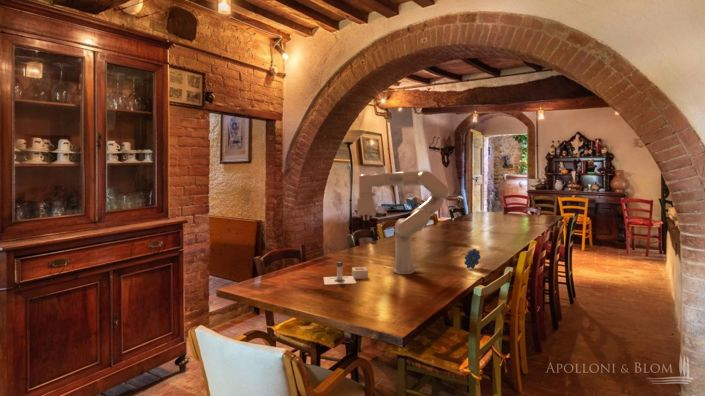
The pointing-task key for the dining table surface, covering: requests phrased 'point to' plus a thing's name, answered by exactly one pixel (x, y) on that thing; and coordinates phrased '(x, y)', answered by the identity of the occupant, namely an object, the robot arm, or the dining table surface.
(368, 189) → the robot arm
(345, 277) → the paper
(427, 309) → the dining table surface
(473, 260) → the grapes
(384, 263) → the dining table surface
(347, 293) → the dining table surface
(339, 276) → the marker
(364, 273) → the button housing
